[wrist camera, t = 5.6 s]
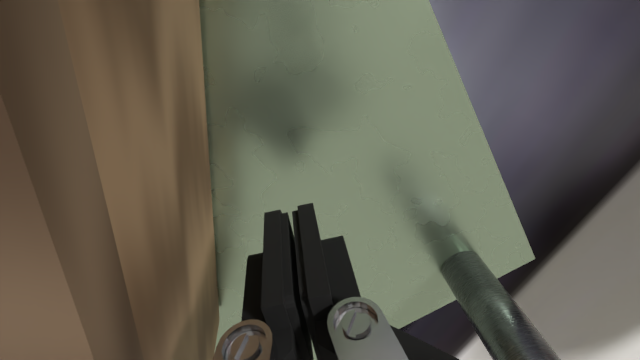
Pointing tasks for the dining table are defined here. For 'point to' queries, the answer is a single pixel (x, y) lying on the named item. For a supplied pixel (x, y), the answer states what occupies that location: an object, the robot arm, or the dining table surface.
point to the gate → (105, 182)
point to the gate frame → (360, 158)
